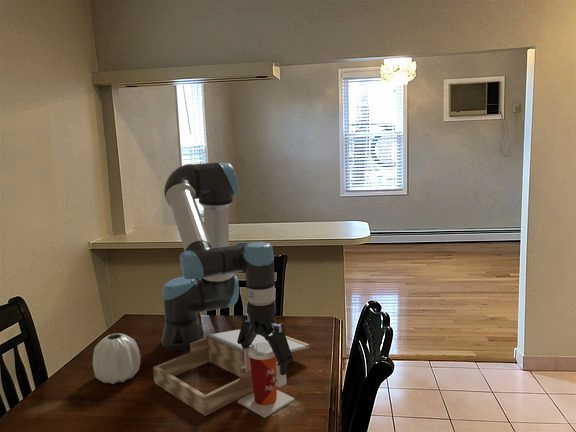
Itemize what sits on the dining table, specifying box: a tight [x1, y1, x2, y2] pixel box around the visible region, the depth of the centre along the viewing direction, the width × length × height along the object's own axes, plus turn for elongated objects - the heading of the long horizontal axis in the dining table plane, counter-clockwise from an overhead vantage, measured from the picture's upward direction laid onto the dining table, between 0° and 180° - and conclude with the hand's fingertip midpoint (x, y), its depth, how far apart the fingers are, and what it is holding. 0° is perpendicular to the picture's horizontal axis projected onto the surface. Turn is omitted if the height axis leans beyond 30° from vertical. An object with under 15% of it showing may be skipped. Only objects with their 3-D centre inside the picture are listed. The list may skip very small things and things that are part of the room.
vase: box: [92, 332, 142, 385], centre depth 143 cm, size 14×14×13 cm
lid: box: [206, 328, 310, 353], centre depth 151 cm, size 26×22×5 cm
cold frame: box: [152, 336, 254, 417], centre depth 137 cm, size 26×20×8 cm
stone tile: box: [237, 389, 295, 419], centre depth 127 cm, size 11×11×1 cm
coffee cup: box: [248, 342, 278, 405], centre depth 126 cm, size 8×8×15 cm
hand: (265, 377), depth 126 cm, fingers open, 12 cm apart
